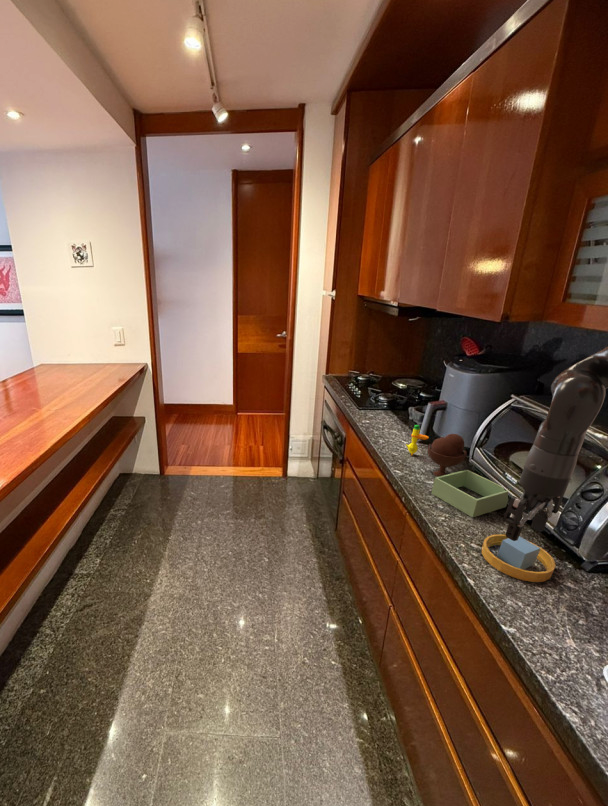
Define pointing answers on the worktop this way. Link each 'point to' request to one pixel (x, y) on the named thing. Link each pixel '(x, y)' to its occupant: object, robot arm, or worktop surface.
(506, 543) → the toy block
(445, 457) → the ice cream bowl
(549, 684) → the worktop surface
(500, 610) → the worktop surface
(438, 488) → the sage bin
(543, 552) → the wide orange band ring
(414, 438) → the toy figure
